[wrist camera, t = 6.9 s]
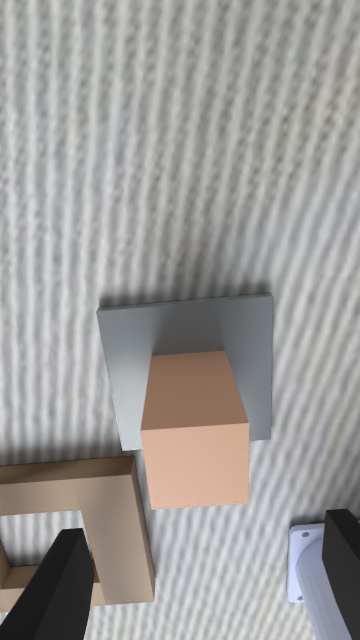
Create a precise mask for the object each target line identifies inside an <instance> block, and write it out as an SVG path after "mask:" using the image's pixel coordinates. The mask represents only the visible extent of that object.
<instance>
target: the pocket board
mask: <svg viewBox="0 0 360 640" xmlns="http://www.w3.org/2000/svg"><path fill="white" fill-rule="evenodd" d="M70 510H81V513H82V517H83V520H84V524H85V528H86V532H87V535H88V539H89V543H90V547H91V550H92V554H93V558H94V561H92V565H93V569H94V572H95V576H94V583H93V591H92V598H91V604H90V606H98V605H113V604H127V603H141V602H154V595H155V574H154V568H153V562H152V557H151V551H150V545H149V539H148V534H147V528H146V522H145V516H144V510H143V505H142V499H141V493H140V487H139V482H138V476H137V470H136V464H135V459H134V456H125V457H113V458H100V459H87V460H74V461H62V462H49V463H36V464H23V465H11V466H0V516H4V515H17V514H31V513H44V512H57V511H70ZM38 567H39V565H32V566H19V567H11V566H10V563H9V561H8V559H7V556H6V554H5V551H4V549H3V546H2V544H1V541H0V612H10V610H11V609H12V607H13V606H14V604H15V603H16V601H17V600H18V598H19V597H20V595H21V594H22V592H23V591H24V589H25V588H26V586H27V584H28V583H29V581H30V580H31V578H32V577H33V575H34V573H35V572H36V570H37V569H38Z"/></svg>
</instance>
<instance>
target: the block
mask: <svg viewBox="0 0 360 640" xmlns="http://www.w3.org/2000/svg"><path fill="white" fill-rule="evenodd" d="M140 433H141V440H142V447H143V454H144V461H145V468H146V475H147V482H148V489H149V496H150V503H151V510H153V509H168V508H183V507H199V506H214V505H229V504H244V503H249V421H248V418H247V415H246V412H245V409H244V406H243V403H242V400H241V397H240V394H239V391H238V387H237V384H236V381H235V378H234V375H233V372H232V369H231V366H230V363H229V360H228V357H227V353H226V350H225V351H211V352H198V353H184V354H170V355H156V356H151V361H150V368H149V375H148V381H147V388H146V395H145V402H144V408H143V415H142V422H141V429H140Z"/></svg>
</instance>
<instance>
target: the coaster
mask: <svg viewBox="0 0 360 640" xmlns="http://www.w3.org/2000/svg"><path fill="white" fill-rule="evenodd" d="M96 313H97V318H98V323H99V329H100V334H101V339H102V345H103V350H104V355H105V361H106V366H107V371H108V377H109V382H110V387H111V393H112V398H113V403H114V409H115V414H116V419H117V425H118V430H119V435H120V441H121V446H122V451H127V450H140V449H143V447H142V440H141V433H140V429H141V422H142V415H143V408H144V402H145V395H146V388H147V381H148V375H149V368H150V361H151V356H156V355H170V354H184V353H198V352H211V351H225V350H226V353H227V357H228V360H229V363H230V366H231V369H232V372H233V375H234V378H235V381H236V384H237V387H238V391H239V394H240V397H241V400H242V403H243V406H244V409H245V412H246V415H247V418H248V421H249V441H254V440H267V439H271V402H272V337H273V296H272V295H271V293H263V294H251V295H240V296H228V297H217V298H205V299H194V300H182V301H171V302H159V303H148V304H136V305H124V306H113V307H101V308H98V310H97V311H96Z"/></svg>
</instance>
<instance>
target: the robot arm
mask: <svg viewBox="0 0 360 640" xmlns="http://www.w3.org/2000/svg"><path fill="white" fill-rule="evenodd" d="M94 576H95V572H94V569H93V565H92V561H91V557H90V554H89V550H88V546H87V543H86V539H85V535H84V531H83V528H76V529H62V530H61V531H60V532H59V534H58V536H57V537H56V539H55V541H54V542H53V544H52V546H51V547H50V549H49V551H48V552H47V554H46V556H45V557H44V559H43V561H42V562H41V564H40V565H39V567H38V569H37V570H36V572H35V573H34V575H33V577H32V578H31V580H30V581H29V583H28V584H27V586H26V588H25V589H24V591H23V592H22V594H21V595H20V597H19V598H18V600H17V601H16V603H15V604H14V606H13V607H12V609H11V610H10V612H9V613H8V615H7V616H6V618H5V619H4V621H3V622H2V624H1V625H0V640H83V639H84V635H85V631H86V626H87V622H88V617H89V611H90V604H91V598H92V591H93V583H94ZM287 598H288V600H289V601H290V602H304V603H305V607H306V610H307V613H308V616H309V619H310V622H311V626H312V629H313V632H314V635H315V638H316V640H360V521H358V520H357V519H356V518H355V516H354V515H353V514H352V513H351V512H350V511H349V510H348V509H336V510H326V515H325V523H320V524H307V525H295V526H293V527H291V528H290V531H289V552H288V573H287Z"/></svg>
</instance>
